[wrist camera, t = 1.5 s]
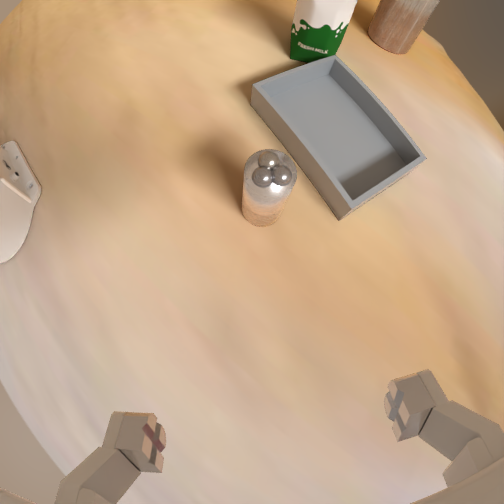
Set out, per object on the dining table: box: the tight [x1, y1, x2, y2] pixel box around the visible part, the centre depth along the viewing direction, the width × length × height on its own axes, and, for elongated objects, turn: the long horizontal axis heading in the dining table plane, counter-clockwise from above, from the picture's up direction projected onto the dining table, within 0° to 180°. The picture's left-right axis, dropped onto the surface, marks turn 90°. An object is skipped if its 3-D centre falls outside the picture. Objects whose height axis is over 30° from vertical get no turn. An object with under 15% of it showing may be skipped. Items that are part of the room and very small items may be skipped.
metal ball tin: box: [242, 149, 297, 227], centre depth 35 cm, size 5×5×12 cm
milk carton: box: [290, 0, 357, 63], centre depth 37 cm, size 9×9×20 cm
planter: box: [368, 0, 440, 54], centre depth 39 cm, size 10×10×23 cm
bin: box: [251, 55, 427, 220], centre depth 41 cm, size 22×16×5 cm
